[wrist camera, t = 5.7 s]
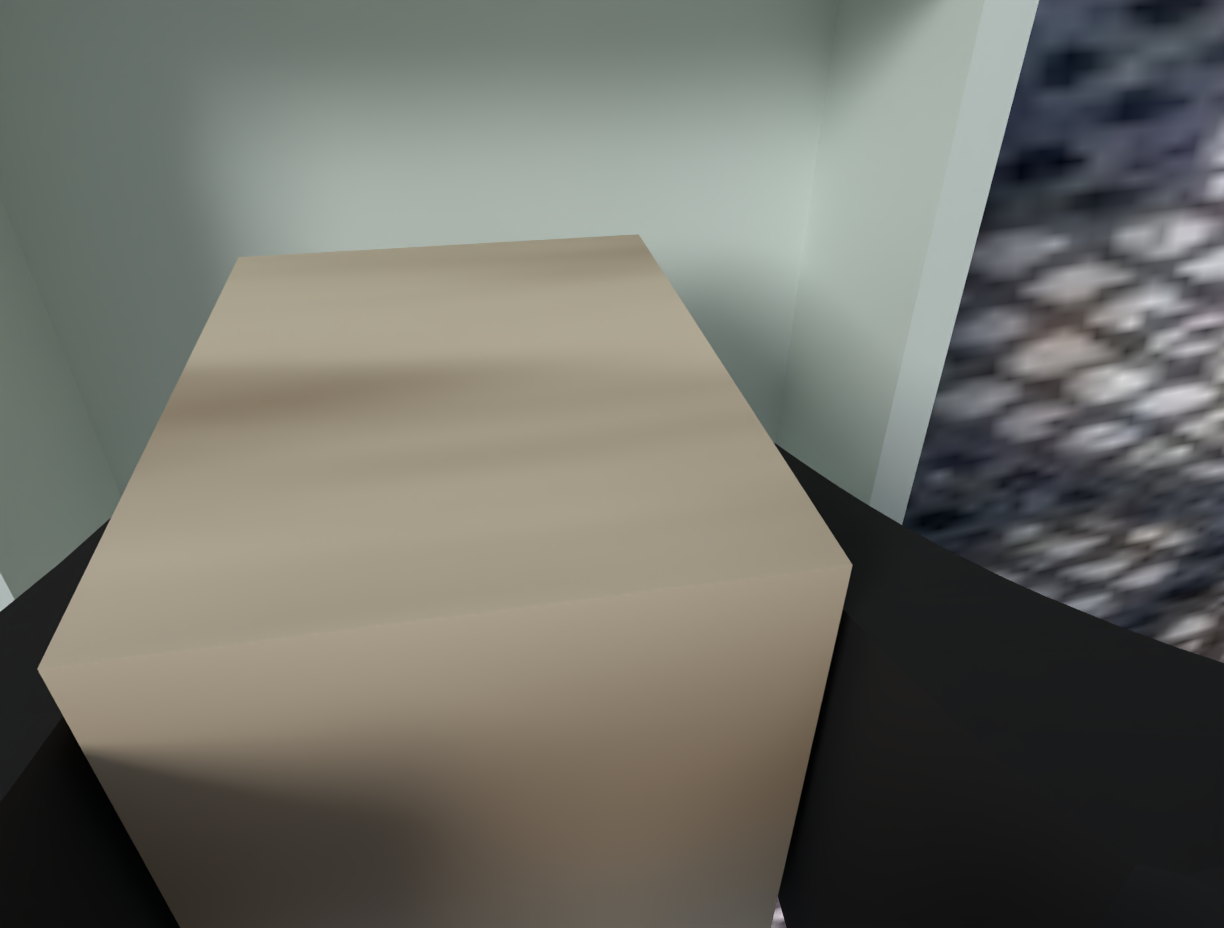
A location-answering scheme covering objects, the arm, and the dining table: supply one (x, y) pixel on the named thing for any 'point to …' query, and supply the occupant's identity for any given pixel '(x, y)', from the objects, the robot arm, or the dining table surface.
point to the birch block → (456, 605)
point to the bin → (489, 195)
